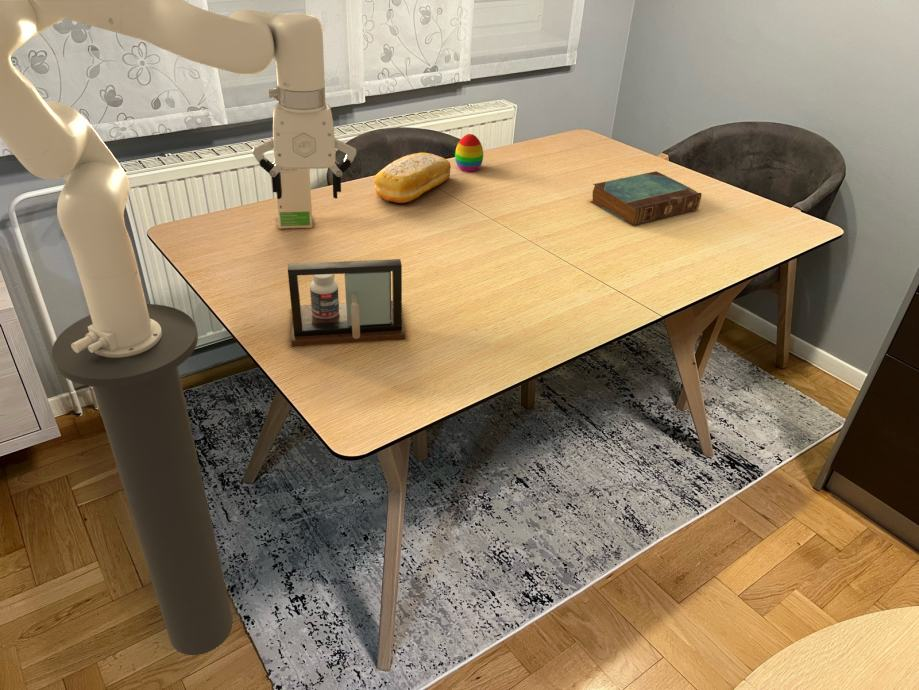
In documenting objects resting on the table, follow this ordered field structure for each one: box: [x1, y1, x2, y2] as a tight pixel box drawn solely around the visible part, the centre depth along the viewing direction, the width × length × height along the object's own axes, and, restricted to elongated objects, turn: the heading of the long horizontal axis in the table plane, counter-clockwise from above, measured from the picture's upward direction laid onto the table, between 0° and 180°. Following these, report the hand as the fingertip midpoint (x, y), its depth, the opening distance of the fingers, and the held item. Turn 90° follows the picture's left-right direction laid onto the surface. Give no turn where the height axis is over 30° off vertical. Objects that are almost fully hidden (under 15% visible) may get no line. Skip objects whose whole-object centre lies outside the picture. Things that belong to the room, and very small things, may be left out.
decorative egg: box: [454, 133, 484, 172], centre depth 210 cm, size 8×8×10 cm
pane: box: [344, 271, 390, 339], centre depth 131 cm, size 7×8×11 cm
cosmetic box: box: [273, 157, 313, 229], centre depth 173 cm, size 8×7×16 cm
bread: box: [374, 152, 452, 204], centre depth 196 cm, size 13×26×8 cm, turn 154°
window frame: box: [287, 258, 406, 347], centre depth 137 cm, size 12×21×15 cm, turn 100°
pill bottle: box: [309, 274, 340, 319], centre depth 140 cm, size 5×5×9 cm
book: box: [590, 170, 703, 227], centre depth 194 cm, size 23×18×5 cm
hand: (307, 195), depth 128 cm, fingers open, 9 cm apart
